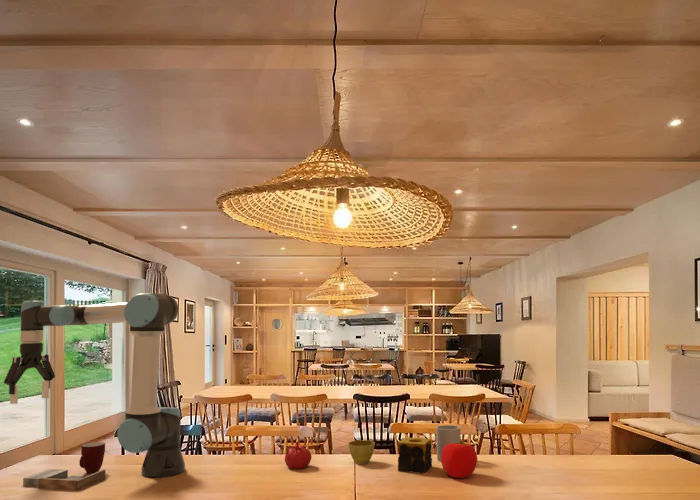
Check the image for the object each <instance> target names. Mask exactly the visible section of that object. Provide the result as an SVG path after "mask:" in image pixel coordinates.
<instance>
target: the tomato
mask: <svg viewBox="0 0 700 500" xmlns="http://www.w3.org/2000/svg"><path fill="white" fill-rule="evenodd" d="M477 463H478V454H477V451H476V449H475V448H474V447H473V446H472V445H471V444H470V443H466V442H463V441H462V440H461V441H460V443H450V444H447V445H446V446H444V448H443V450H442V454H441V466H442V468H443V470H444V472H445V473H446V474H447V475H448V476H449V477H452V478H456V479H464V478H467V477H470V476H471V475H472V474H473V473H474V472H475V470H476V468H477V465H478V464H477Z"/></svg>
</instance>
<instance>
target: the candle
mask: <svg viewBox="0 0 700 500" xmlns="http://www.w3.org/2000/svg"><path fill="white" fill-rule="evenodd" d="M397 447H398V448H397V449H398V459H397V471H398V472H404V473H405V472H408V473H418V474H420V473H421V474H426V473H427V472H428V471H429V470H430V469H431V468H432V467H433V464H432V463H433V458H432V439H431V438H423V437H407V436H406V437H404V438H402V439H401V440H399V441H398V442H397Z"/></svg>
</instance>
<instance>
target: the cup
mask: <svg viewBox="0 0 700 500" xmlns="http://www.w3.org/2000/svg"><path fill="white" fill-rule="evenodd" d="M435 438H436V458H437V459H436V460H437V461H438V462H441V454H442V450H443V448H444V446H446V445H447V444H450V443H460V441H462V438H461V427H460V426H458V425H453V424H444V425H443V424H442V425H437V426H436V427H435ZM441 463H442V462H441Z"/></svg>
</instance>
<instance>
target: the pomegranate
mask: <svg viewBox="0 0 700 500" xmlns="http://www.w3.org/2000/svg"><path fill="white" fill-rule="evenodd" d="M299 444H300V442H299V441H295V444H294V445H295V446H291V445H290V446H288V447H287V448H288V450H287V452H285V455H284V462H285V465H286V466H287V468H289V469H291V470H302V469H305V468H306V467H308V466H309V465H310V463H311V461H312V458H313V457H312V453H311V451H310V450H309V449H308V446H307V445H305V444H300V445H299ZM306 447H307V448H306Z"/></svg>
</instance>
